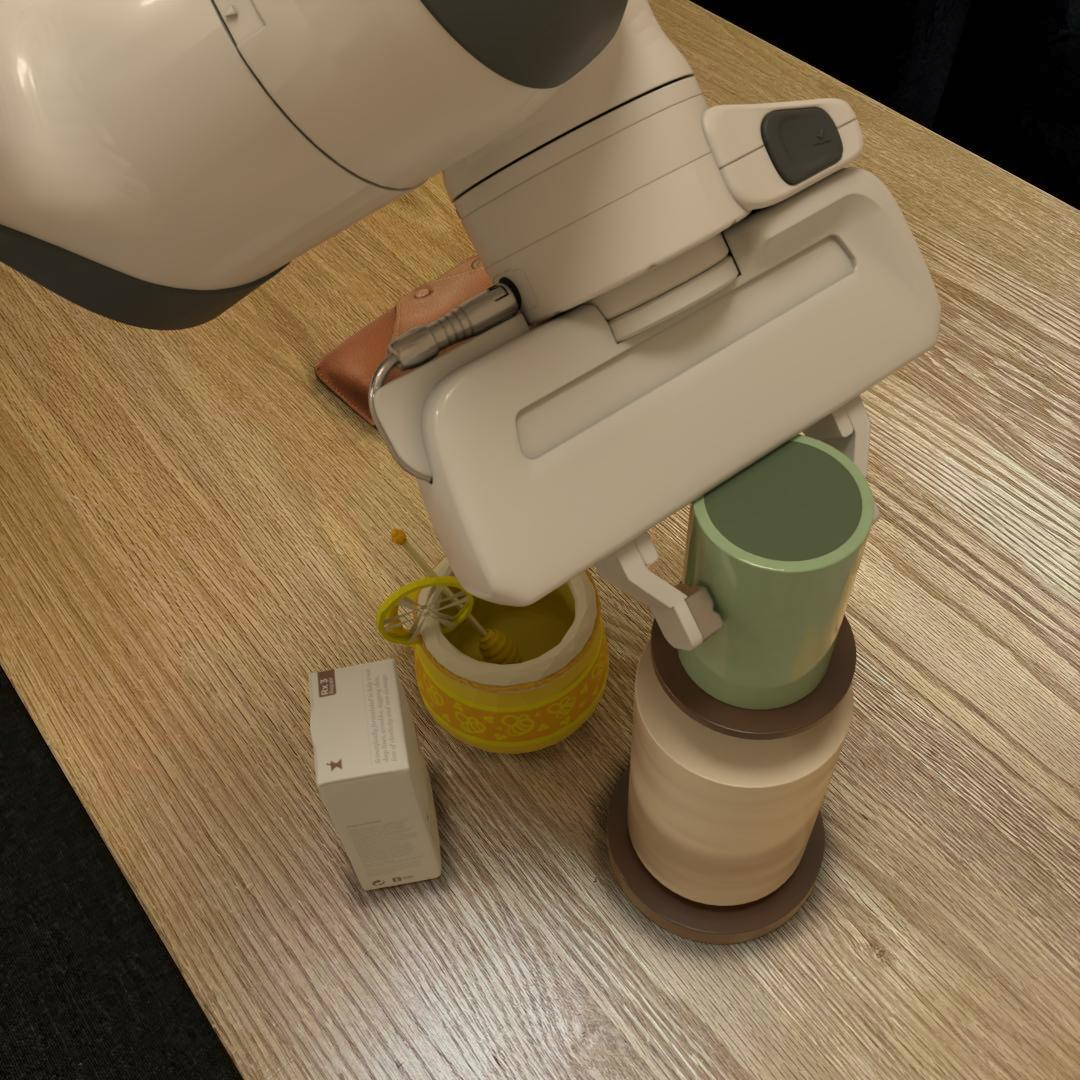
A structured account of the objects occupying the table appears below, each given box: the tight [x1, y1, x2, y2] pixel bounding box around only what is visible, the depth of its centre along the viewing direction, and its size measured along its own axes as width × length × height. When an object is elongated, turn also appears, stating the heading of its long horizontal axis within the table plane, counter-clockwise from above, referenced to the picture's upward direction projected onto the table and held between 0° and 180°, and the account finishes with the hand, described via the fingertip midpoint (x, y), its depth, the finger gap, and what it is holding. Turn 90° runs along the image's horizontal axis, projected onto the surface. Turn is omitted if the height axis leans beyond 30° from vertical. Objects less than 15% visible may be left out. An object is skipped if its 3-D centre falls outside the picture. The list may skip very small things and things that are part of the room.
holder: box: [606, 580, 858, 945], centre depth 54 cm, size 11×11×19 cm
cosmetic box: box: [308, 657, 442, 891], centre depth 58 cm, size 6×4×12 cm
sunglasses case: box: [313, 254, 493, 428], centre depth 84 cm, size 18×7×7 cm, turn 137°
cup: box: [677, 433, 875, 710], centre depth 43 cm, size 6×6×9 cm
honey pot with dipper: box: [375, 528, 610, 755], centre depth 63 cm, size 13×11×12 cm
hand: (778, 583), depth 43 cm, fingers open, 6 cm apart
